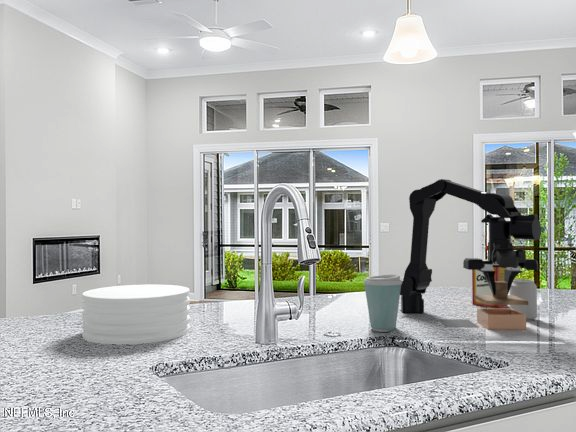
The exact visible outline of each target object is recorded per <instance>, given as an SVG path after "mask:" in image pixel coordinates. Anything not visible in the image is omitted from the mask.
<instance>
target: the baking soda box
mask: <svg viewBox="0 0 576 432" xmlns="http://www.w3.org/2000/svg"><path fill="white" fill-rule="evenodd" d="M482 260H483V261H489V260H488V259H482ZM495 263H497V262H495ZM504 269H507V267H506V268H501V267H493V271H495V276H494V278H495V281H504ZM471 271H472V272H471V274H472V277H471V278H472V279H471V280H472V281H471V285H472V289H471V291H472V292H471V293H472V294H471V295H472V296H471V297H472V306H481V307H485V306H486V307H485V308H491V309H502V308H506V307H508V306H509V305H486V304H484V303H482V302H480V301H478V300H477V299H475V298H474V295H493V294H492V292H491V289H490V287H489V284H488V282H487V280H486V278H485V276H484V274H483V272H480V271H479V270H471Z"/></svg>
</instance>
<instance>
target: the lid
mask: <svg viewBox="0 0 576 432" xmlns="http://www.w3.org/2000/svg"><path fill="white" fill-rule="evenodd" d="M495 289H496V290H495V295H474V298H475V299H477V300H478V301H480V302H482V303H484V304H486V305H508V306H510V305H528V301H526V300H524V299H521V298H519V297H517V296H514V295H510V294H509V293H508V282H505V281H495Z"/></svg>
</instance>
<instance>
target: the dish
mask: <svg viewBox="0 0 576 432" xmlns="http://www.w3.org/2000/svg"><path fill="white" fill-rule="evenodd" d="M476 323H477V324H479V325H481V326H482V327H484V328H485V329H486V330H495V331H498V330H503V331H505V330H508V331H526V330H527V321H526V315H525V314H523V313H521V312H518V311H516V310H514V309H510V308H488V307H485V308H484V307H483V308H482V307H481V308H478V307H477V308H476Z"/></svg>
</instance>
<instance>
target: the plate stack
mask: <svg viewBox="0 0 576 432" xmlns="http://www.w3.org/2000/svg"><path fill="white" fill-rule="evenodd" d="M190 290H191V289H190V288H189V287H187V286H184V285H183V286H182V285H176V284H175V285H174V284H159V283H158V284H156V283H155V284H154V283H153V284H152V283H149V284H147V283H146V284H126V285H125V284H123V285H113V286H106V287H99V288H93V289H89V290H86V291H83V292H82V294H81V299H82V300H83V302H82V303H81V306H82V307H81V309H82V310H83V312H82V313H81V317H82V318H81V319H82V320H83V321H82V322H81V323H82V324H81V328H82V332H81V334H82V336H81V337H83V338H82V339H83V340H84V339H85V340H84V341H86V340H87V341H86V342H89V343H92V342H93V344H98V343H100V345H110V344H111V346H113V345H112V344H116V345H115V346H118V345H119V346H121V345H122V344H123V345H124V344H130V345H143V343H144V344H151V343H152V344H153V343H159V342H160V343H161V342H165V341H170V340H174V339H177V337H178V338H181V337H183V336H185V335H187V334H188V333H189V332H190V331H189V330H191V329H190V328H191V325H190V324H189V323H191V322H190V320H191V317H190V315H189V314H190V312H191V311H190V310H191V308H190V306H189V304H190V303H191V299H190V297H189V295H190V293H191V291H190ZM187 332H188V333H187ZM186 333H187V334H186ZM184 334H185V335H184ZM182 335H183V336H182ZM180 336H181V337H180ZM123 345H122V346H123ZM124 346H125V345H124Z"/></svg>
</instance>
